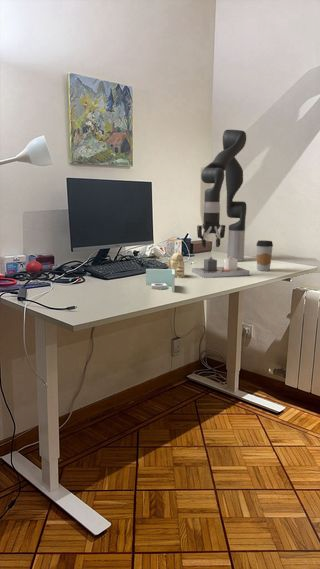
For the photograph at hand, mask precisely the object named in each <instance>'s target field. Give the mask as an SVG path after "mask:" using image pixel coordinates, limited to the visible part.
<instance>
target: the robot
mask: <svg viewBox="0 0 320 569" xmlns="http://www.w3.org/2000/svg"><path fill="white" fill-rule="evenodd" d="M180 247H181V246H180V245H177V248H180ZM178 250H179V249H176V252H174V253H173V254H172V255H171V259H170V257H169V258H167V263H168V264H166V267H168V268H167V269H175V278H177V279H182V278H185V277H187V276H188V275H187V274H185V261H184V256H183V254H182V253H180V252H178ZM179 277H180V278H179ZM181 277H182V278H181Z"/></svg>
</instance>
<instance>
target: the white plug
mask: <svg viewBox="0 0 320 569" xmlns="http://www.w3.org/2000/svg"><path fill="white" fill-rule="evenodd" d="M223 261H224V266H223V267H224V269H228V270H237V267H238V261H237V259H235V258H233V256H229V258H227V257H226V258H224V260H223Z"/></svg>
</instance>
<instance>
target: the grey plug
mask: <svg viewBox="0 0 320 569" xmlns="http://www.w3.org/2000/svg"><path fill="white" fill-rule="evenodd" d="M217 267H218V260H217V259H214V258H213V257H212V256H209V257H208V258H205V259H204V260H203V268H204V271H206V272H208V271H217Z"/></svg>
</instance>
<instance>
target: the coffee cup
mask: <svg viewBox="0 0 320 569" xmlns="http://www.w3.org/2000/svg"><path fill="white" fill-rule="evenodd" d="M273 246H274V243H273V241H272V240H263V239H262V240H257V242H256V269H257V271H259V272H269V271H270V269H271V263H272V257H273V256H272V255H273V254H272V253H273Z"/></svg>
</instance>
